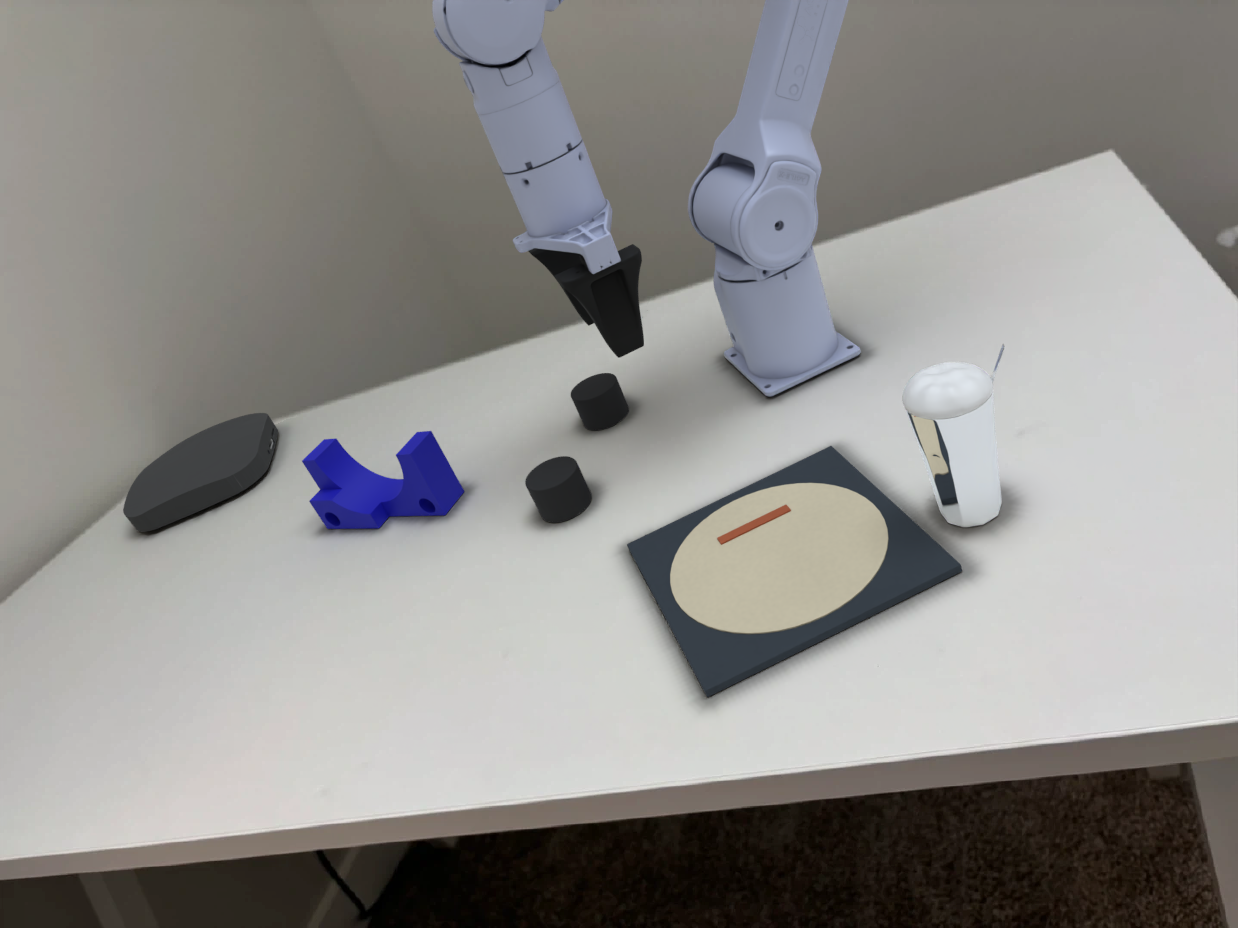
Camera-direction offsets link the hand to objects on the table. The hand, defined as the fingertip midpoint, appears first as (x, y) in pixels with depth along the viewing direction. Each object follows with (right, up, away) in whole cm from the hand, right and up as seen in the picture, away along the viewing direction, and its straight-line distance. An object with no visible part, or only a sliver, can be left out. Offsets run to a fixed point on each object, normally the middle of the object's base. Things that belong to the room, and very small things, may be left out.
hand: (613, 334), depth 69 cm
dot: (-1, -6, +9) cm, 11 cm away
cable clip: (-18, -13, +9) cm, 24 cm away
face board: (+10, -15, -13) cm, 22 cm away
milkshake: (+21, -12, -16) cm, 29 cm away
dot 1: (-3, -12, 0) cm, 13 cm away
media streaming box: (-41, -11, +28) cm, 51 cm away
